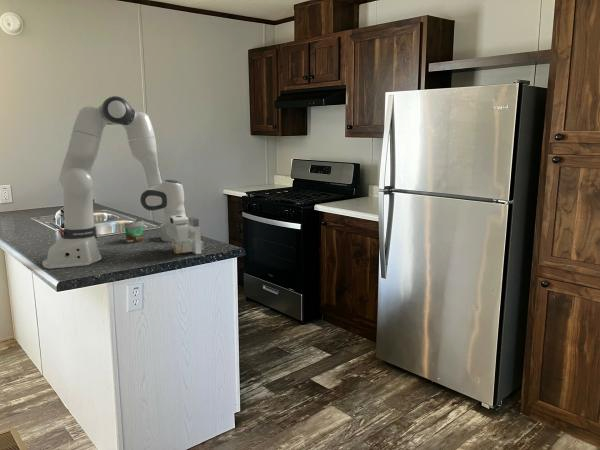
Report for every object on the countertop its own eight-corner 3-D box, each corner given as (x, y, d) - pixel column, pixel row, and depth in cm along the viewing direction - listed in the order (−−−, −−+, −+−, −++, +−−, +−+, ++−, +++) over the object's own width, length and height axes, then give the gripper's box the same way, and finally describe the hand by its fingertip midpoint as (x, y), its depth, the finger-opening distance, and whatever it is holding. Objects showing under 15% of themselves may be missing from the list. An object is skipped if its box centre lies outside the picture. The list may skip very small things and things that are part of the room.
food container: (137, 244, 240) (135, 223, 238) (125, 244, 242) (123, 223, 240) (149, 238, 252) (148, 219, 250) (138, 238, 253) (137, 218, 252)
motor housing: (195, 254, 221) (194, 220, 218) (184, 247, 234) (183, 215, 231) (201, 253, 223) (199, 219, 220) (190, 246, 235) (188, 214, 232)
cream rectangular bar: (176, 253, 223) (175, 245, 222) (173, 251, 226) (173, 243, 225) (203, 249, 229) (203, 241, 228) (200, 248, 232) (200, 240, 231)
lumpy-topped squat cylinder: (173, 242, 244) (172, 225, 242) (155, 239, 251) (154, 222, 249) (189, 238, 252) (188, 221, 250) (172, 235, 259) (171, 219, 258)
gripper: (161, 214, 229) (163, 244, 231) (174, 221, 211) (176, 253, 214) (174, 212, 232) (176, 242, 235) (189, 219, 215) (191, 251, 217)
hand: (176, 247), depth 224 cm, fingers closed on cream rectangular bar, 4 cm apart
